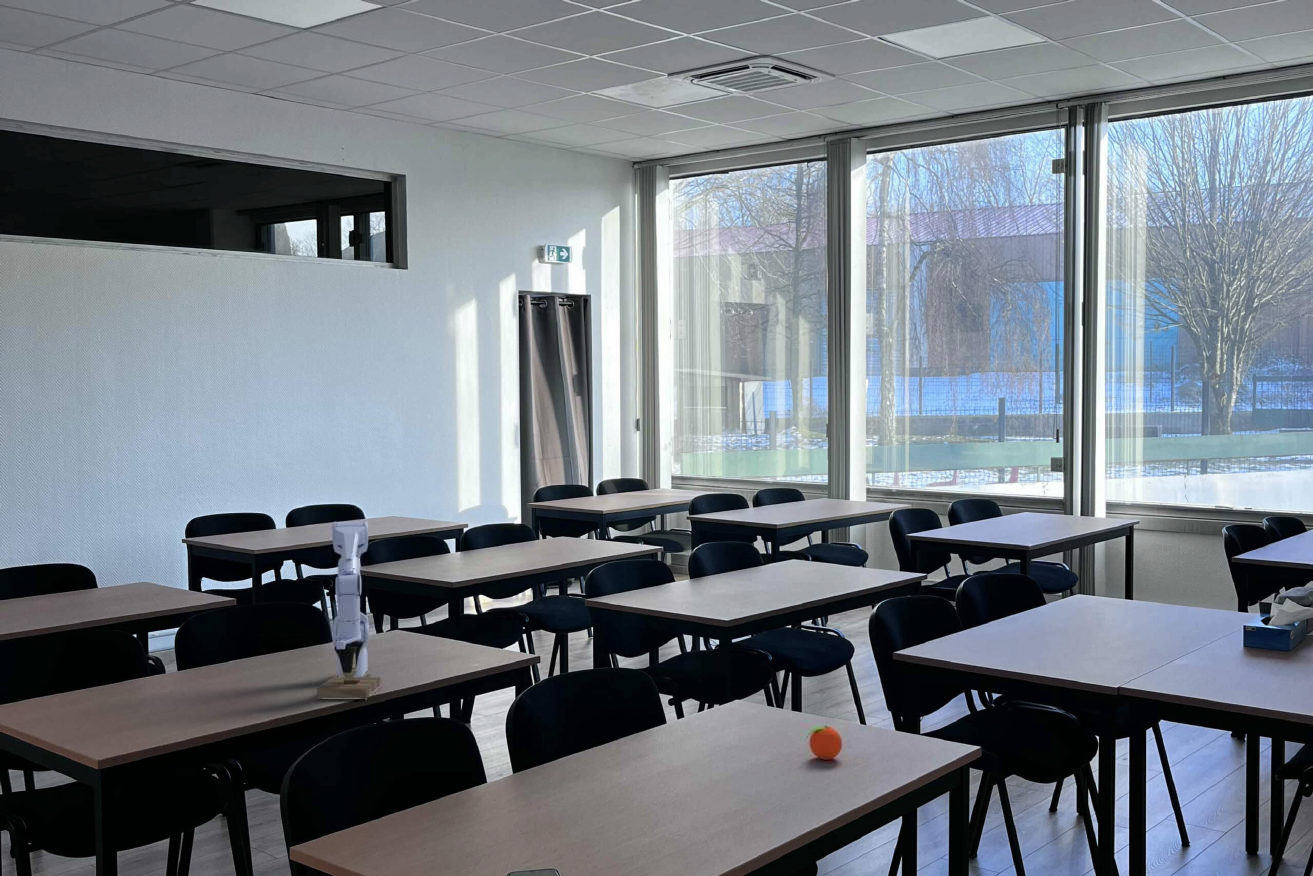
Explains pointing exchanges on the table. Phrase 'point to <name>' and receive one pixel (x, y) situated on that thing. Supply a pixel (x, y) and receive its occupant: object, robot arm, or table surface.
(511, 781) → the table surface
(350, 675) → the peg
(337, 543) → the robot arm
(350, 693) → the board
